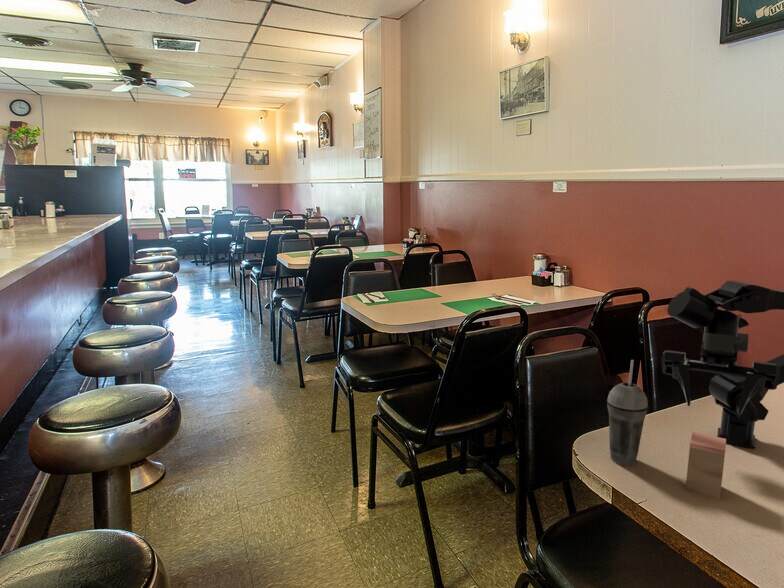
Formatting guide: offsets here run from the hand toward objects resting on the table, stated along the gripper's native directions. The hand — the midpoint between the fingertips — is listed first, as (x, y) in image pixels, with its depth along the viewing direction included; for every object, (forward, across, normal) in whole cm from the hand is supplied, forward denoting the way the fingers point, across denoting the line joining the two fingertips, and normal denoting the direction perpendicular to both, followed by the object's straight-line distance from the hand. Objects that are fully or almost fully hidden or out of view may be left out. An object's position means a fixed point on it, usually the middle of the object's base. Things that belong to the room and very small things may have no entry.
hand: (713, 409), depth 92 cm
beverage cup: (+12, -14, +4) cm, 19 cm away
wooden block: (+15, 0, +2) cm, 15 cm away
